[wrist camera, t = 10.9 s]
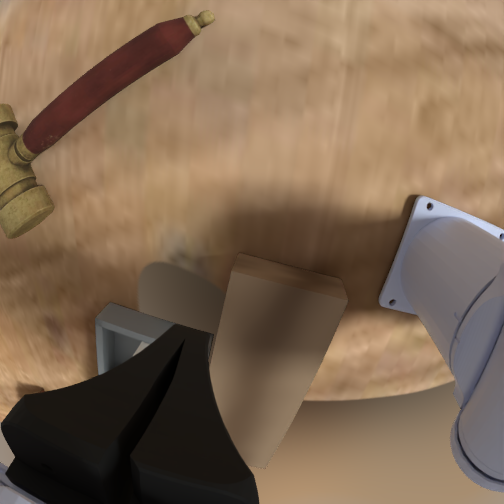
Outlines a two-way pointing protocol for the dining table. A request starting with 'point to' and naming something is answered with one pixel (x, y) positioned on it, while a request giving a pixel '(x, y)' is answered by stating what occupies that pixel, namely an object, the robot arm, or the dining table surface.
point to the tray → (125, 334)
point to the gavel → (77, 116)
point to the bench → (270, 349)
